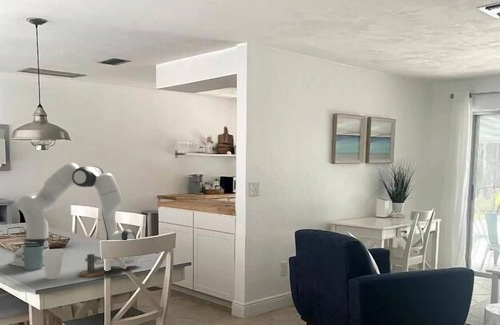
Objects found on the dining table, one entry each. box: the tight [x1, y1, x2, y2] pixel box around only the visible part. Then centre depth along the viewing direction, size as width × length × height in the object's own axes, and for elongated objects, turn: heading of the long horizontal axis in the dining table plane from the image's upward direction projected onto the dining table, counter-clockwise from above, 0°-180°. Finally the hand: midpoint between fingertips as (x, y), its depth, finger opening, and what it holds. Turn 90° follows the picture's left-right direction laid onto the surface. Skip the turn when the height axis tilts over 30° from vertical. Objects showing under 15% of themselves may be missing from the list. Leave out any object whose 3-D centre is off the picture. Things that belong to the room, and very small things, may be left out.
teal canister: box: [22, 244, 44, 272], centre depth 254 cm, size 10×10×12 cm
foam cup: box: [42, 248, 64, 280], centre depth 235 cm, size 10×9×13 cm
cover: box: [77, 253, 105, 278], centre depth 242 cm, size 12×12×10 cm
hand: (90, 261), depth 242 cm, fingers open, 8 cm apart
